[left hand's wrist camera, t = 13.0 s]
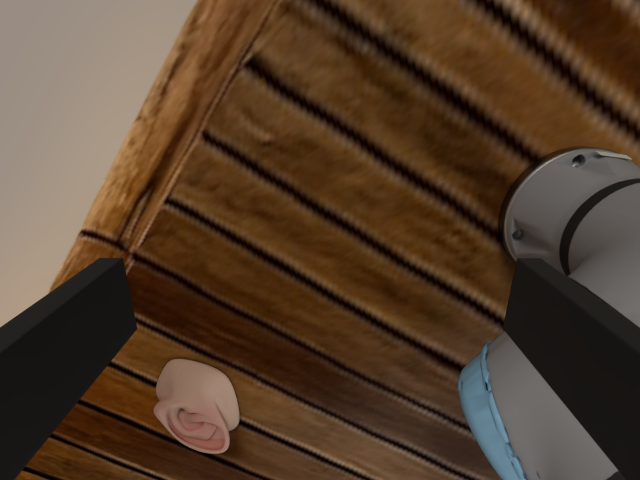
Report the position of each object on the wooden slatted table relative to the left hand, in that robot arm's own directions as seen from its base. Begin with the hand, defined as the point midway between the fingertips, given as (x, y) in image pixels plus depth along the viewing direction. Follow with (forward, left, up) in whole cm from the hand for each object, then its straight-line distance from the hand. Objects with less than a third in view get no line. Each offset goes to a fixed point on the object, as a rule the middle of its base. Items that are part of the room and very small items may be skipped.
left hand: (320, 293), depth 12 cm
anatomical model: (-2, +37, -30) cm, 47 cm away
